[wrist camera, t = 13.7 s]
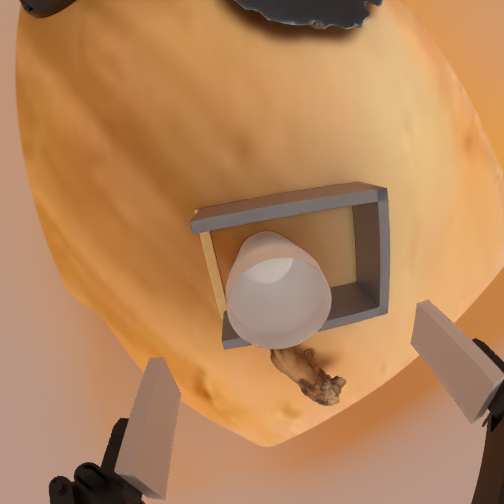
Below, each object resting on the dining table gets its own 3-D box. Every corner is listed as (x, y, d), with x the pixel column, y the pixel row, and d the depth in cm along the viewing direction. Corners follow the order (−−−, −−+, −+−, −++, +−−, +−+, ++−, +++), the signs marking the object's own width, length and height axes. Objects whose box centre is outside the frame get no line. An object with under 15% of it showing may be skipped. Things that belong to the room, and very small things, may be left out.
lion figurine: (337, 354, 39) (356, 394, 31) (313, 375, 41) (327, 417, 32) (264, 307, 36) (272, 350, 27) (239, 334, 37) (240, 379, 29)
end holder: (194, 209, 31) (183, 223, 25) (358, 181, 31) (387, 188, 25) (221, 317, 36) (219, 350, 29) (364, 288, 36) (387, 313, 29)
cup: (278, 301, 36) (296, 362, 24) (215, 272, 34) (206, 327, 23) (316, 242, 33) (353, 284, 22) (251, 207, 32) (259, 234, 20)
